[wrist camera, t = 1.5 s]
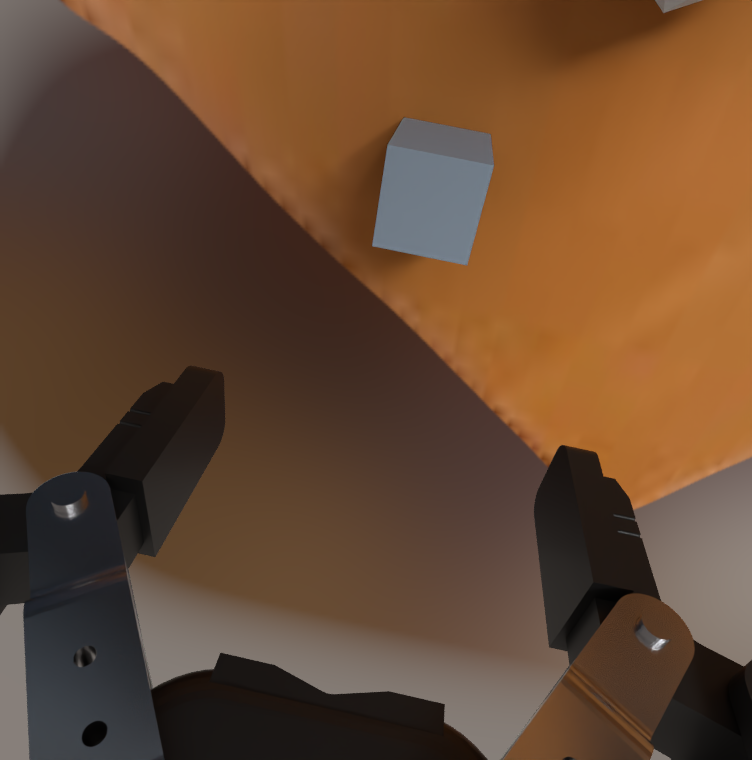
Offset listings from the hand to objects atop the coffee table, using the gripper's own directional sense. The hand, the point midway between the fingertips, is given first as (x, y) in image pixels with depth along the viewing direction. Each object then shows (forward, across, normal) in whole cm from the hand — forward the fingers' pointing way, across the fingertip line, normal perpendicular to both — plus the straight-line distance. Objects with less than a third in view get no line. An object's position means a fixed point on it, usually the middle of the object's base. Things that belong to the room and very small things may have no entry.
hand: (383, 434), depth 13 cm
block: (+24, 0, 0) cm, 24 cm away
